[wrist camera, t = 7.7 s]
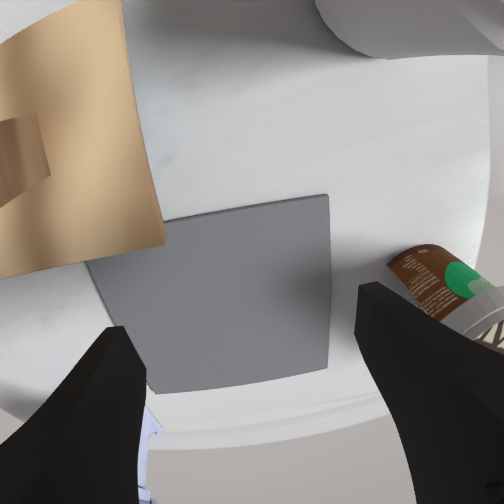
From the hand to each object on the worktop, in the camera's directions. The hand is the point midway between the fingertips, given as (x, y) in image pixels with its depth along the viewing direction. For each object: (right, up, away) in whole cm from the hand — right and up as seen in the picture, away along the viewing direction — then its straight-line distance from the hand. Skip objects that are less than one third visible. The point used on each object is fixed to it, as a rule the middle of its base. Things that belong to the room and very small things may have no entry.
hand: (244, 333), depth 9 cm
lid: (-10, +7, +2) cm, 13 cm away
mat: (-2, -2, +13) cm, 13 cm away
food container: (+16, +1, +14) cm, 21 cm away
